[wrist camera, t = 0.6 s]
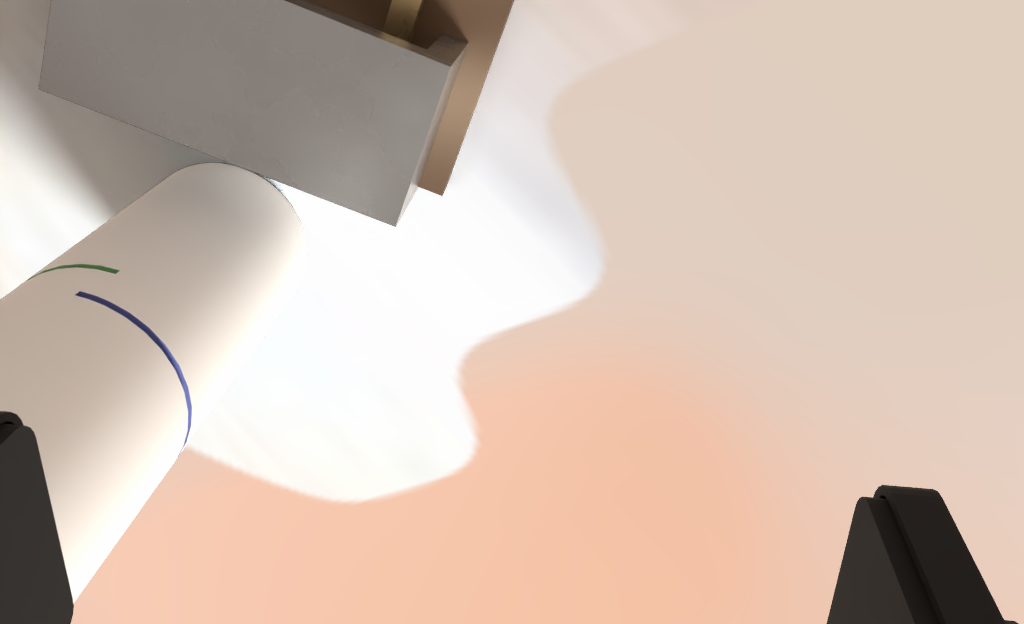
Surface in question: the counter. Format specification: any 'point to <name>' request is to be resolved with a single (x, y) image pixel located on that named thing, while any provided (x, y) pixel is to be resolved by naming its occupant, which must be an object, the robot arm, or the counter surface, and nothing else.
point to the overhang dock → (265, 87)
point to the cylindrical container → (143, 342)
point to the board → (480, 21)
